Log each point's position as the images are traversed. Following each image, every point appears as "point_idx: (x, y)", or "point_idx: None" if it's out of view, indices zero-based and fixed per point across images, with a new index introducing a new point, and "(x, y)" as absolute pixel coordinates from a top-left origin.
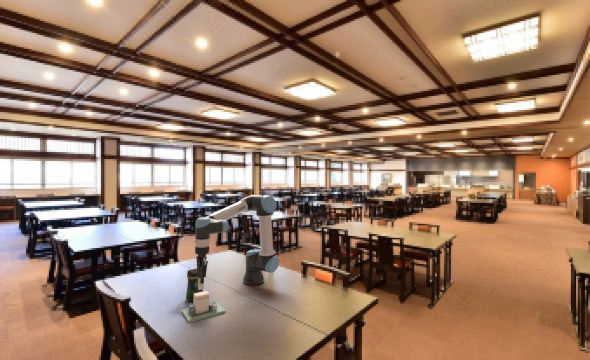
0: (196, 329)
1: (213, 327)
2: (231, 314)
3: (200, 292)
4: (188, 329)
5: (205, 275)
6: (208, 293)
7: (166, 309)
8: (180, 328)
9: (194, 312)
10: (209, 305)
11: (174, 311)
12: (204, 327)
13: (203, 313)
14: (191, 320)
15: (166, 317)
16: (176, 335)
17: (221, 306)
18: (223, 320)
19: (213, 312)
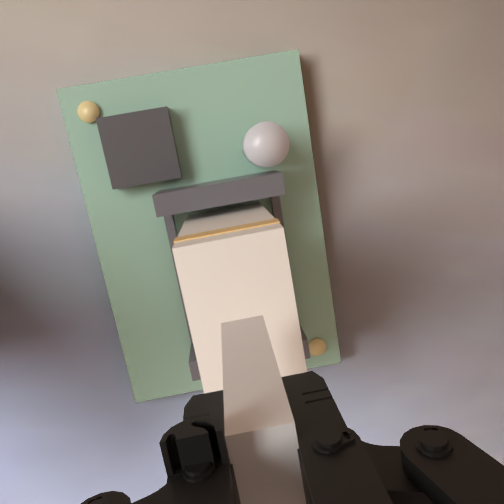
0: (450, 312)
1: (483, 199)
2: (353, 9)
3: (200, 326)
4: (424, 359)
5: (485, 466)
6: (278, 234)
7: (51, 491)
8: (387, 404)
9: (302, 331)
10: (255, 199)
11: (109, 439)
12: (451, 259)
13: (287, 249)
14: (337, 340)
15: None
16: (459, 427)
17: (201, 67)
18: (421, 104)
19: (292, 164)
